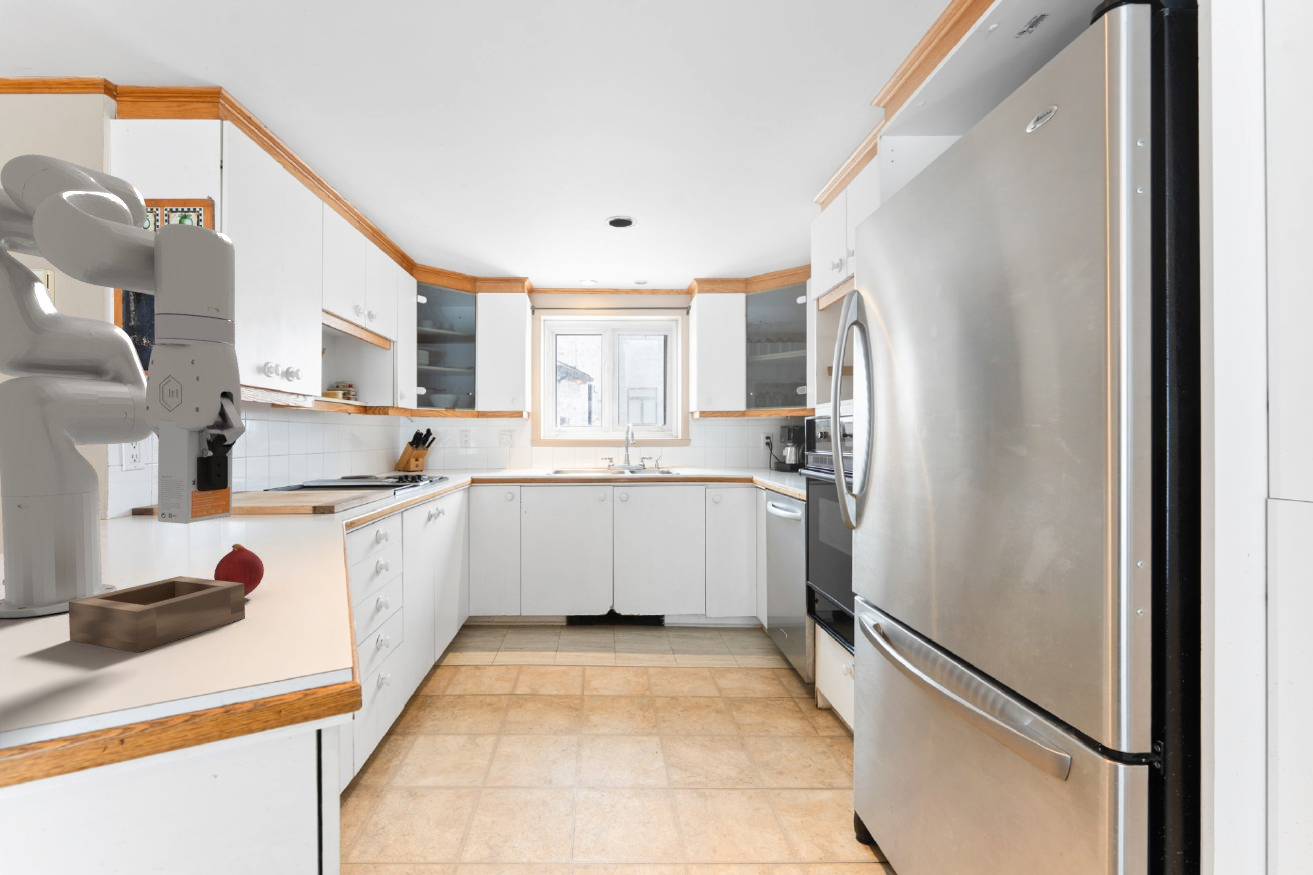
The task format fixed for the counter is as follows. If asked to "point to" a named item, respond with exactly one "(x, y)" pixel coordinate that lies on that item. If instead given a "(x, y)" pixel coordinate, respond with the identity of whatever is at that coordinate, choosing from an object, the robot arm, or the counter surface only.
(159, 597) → the wooden tray
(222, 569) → the onion
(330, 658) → the counter surface
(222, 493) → the skincare box
